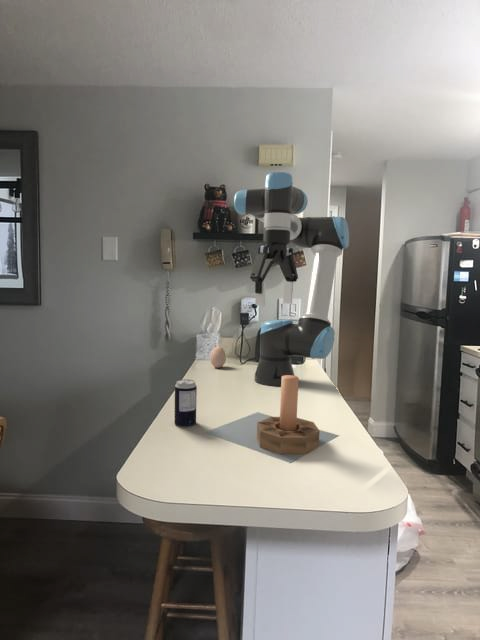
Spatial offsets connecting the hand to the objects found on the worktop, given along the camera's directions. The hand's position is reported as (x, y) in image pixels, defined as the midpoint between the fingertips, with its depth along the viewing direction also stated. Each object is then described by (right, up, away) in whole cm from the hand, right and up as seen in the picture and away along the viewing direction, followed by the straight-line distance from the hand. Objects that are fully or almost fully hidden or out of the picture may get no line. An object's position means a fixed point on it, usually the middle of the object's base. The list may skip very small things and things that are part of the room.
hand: (274, 304), depth 129 cm
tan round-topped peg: (+1, -34, -21) cm, 40 cm away
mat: (-2, -34, -16) cm, 37 cm away
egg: (-19, -25, +59) cm, 67 cm away
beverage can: (-24, -33, -10) cm, 42 cm away
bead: (+1, -34, -22) cm, 40 cm away
